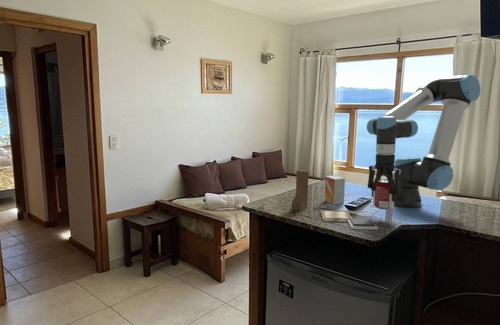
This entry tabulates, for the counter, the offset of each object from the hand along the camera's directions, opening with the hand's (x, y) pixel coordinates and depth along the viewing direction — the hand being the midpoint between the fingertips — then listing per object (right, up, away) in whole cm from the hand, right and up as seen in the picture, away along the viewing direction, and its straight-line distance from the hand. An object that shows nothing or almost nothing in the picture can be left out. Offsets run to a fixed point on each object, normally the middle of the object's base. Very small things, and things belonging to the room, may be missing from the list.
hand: (383, 206), depth 153 cm
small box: (-15, -1, +27) cm, 31 cm away
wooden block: (-34, -3, +17) cm, 38 cm away
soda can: (0, -1, 0) cm, 1 cm away
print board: (-20, -5, +4) cm, 20 cm away
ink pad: (-11, -7, -7) cm, 15 cm away
